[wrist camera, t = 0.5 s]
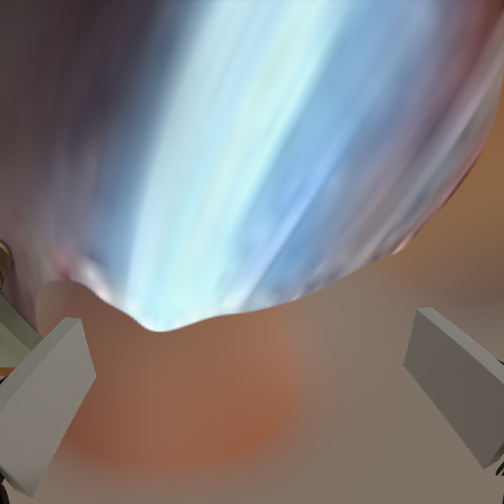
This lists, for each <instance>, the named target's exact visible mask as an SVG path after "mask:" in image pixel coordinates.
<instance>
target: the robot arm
mask: <svg viewBox="0 0 504 504" xmlns="http://www.w3.org/2000/svg"><path fill="white" fill-rule="evenodd" d="M403 366H404V367H405V369H406V370H407V371H408V372H409V374H410V375H411V376H412V377H413V378H414V380H415V381H416V382H417V383H418V385H419V386H420V387H421V388H422V390H423V391H424V392H425V393H426V395H427V396H428V397H429V398H430V400H431V401H432V402H433V403H434V405H435V406H436V407H437V409H438V410H439V411H440V412H441V414H442V415H443V416H444V417H445V419H446V420H447V421H448V423H449V424H450V425H451V427H452V428H453V429H454V430H455V432H456V433H457V434H458V436H459V437H460V438H461V440H462V441H463V442H464V444H465V445H466V446H467V448H468V449H469V450H470V452H471V453H472V455H473V456H474V457H475V459H476V460H477V461H478V463H479V464H480V465H481V466H482V468H483V469H485V468H487V467H489V466H490V465H492V464H493V463H495V462H496V461H498V460H499V459H500V457H501V456H502V455H503V453H504V363H503V362H501V361H499V360H497V359H496V358H494V357H493V356H492V355H491V354H489V353H488V352H487V351H486V350H485V349H483V348H482V347H481V346H480V345H478V344H477V343H476V342H475V341H473V340H472V339H470V337H468V336H467V335H466V334H465V333H463V332H462V331H461V330H459V329H458V328H457V327H455V326H454V325H453V324H451V323H450V322H449V321H448V320H447V319H445V318H444V317H442V316H441V315H440V314H439V313H437V312H436V311H435V310H433V309H432V308H422V309H417V310H416V314H415V319H414V323H413V328H412V332H411V336H410V340H409V344H408V348H407V352H406V355H405V359H404V363H403ZM96 377H97V376H96V372H95V369H94V366H93V363H92V359H91V356H90V353H89V349H88V345H87V342H86V338H85V334H84V330H83V326H82V322H81V319H77V318H64V319H63V320H62V321H61V322H60V323H59V324H58V325H57V326H56V327H55V328H54V329H53V330H52V331H51V332H50V333H49V334H48V335H47V336H46V337H45V338H44V339H43V340H42V341H41V342H40V343H39V344H38V345H37V346H36V347H35V348H34V349H33V350H32V351H31V352H30V353H29V354H28V355H27V356H26V357H25V358H24V359H23V361H22V362H21V363H20V364H19V365H18V366H17V367H16V368H15V369H14V370H13V371H12V372H11V373H10V375H9V376H7V377H5V378H3V379H2V380H0V504H10V503H9V499H8V495H7V492H6V489H5V487H4V486H3V485H2V482H3V480H4V478H5V479H6V480H7V482H8V483H9V484H10V485H11V486H12V487H13V488H14V489H15V490H17V491H19V492H21V493H23V494H25V495H27V496H30V497H32V498H33V497H34V494H35V492H36V490H37V488H38V486H39V484H40V481H41V479H42V477H43V475H44V473H45V471H46V469H47V467H48V465H49V463H50V461H51V459H52V457H53V455H54V453H55V451H56V449H57V447H58V445H59V443H60V441H61V439H62V438H63V436H64V434H65V432H66V430H67V428H68V426H69V425H70V423H71V421H72V419H73V417H74V415H75V414H76V412H77V410H78V408H79V406H80V405H81V403H82V401H83V399H84V398H85V396H86V394H87V392H88V391H89V389H90V387H91V385H92V384H93V382H94V380H95V379H96ZM503 468H504V462H503V463H502V464H501V466H500V467H499V468H498V469H497V471H496V475H498V474H499V473H500V472H501V471H502V470H503ZM502 476H504V472H503V473H502ZM503 504H504V496H503Z"/></svg>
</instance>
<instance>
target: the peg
mask: <svg viewBox="0 0 504 504" xmlns="http://www.w3.org/2000/svg"><path fill="white" fill-rule="evenodd" d="M11 261H12V253H11V250H10V248H9V247H8V246H7V244H6V243H5V242H3V241H2V240H0V289H1V287H2V285H3V282H4V280H5V278H6V276H7V274H8V272H9V270H10V268H11Z"/></svg>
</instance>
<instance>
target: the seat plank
mask: <svg viewBox="0 0 504 504" xmlns="http://www.w3.org/2000/svg"><path fill="white" fill-rule="evenodd" d="M42 340H43V338H42V337H41V336H40V335H39V334H38V333H37V332H36V331H35V330H34V329H33V328H32V327H31V326H30V325H29V324H28V323H27V322H26V321H25V320H24V319H23V318H22V317H21V316H20V315H19V313H18V312H17V311H16V310H15V309H14V308H13V307H12V306H11V305H10V303H9V302H8V301H7V300H6V299H5V298H4V296H3V295H2V294H1V293H0V367H17V366H18V365H19V364H20V363H21V362H22V361H23V359H24V358H25V357H26V356H27V355H28V354H29V353H30V352H31V351H32V350H33V349H34V348H35V347H36V346H37V345H38V344H39V343H40V342H41V341H42Z"/></svg>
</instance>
